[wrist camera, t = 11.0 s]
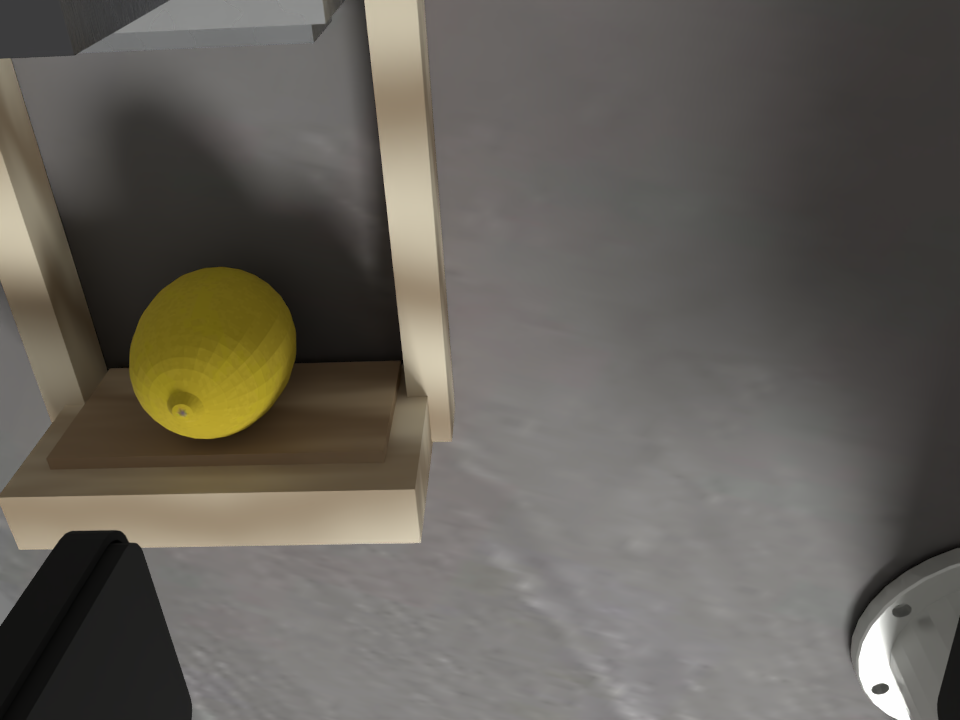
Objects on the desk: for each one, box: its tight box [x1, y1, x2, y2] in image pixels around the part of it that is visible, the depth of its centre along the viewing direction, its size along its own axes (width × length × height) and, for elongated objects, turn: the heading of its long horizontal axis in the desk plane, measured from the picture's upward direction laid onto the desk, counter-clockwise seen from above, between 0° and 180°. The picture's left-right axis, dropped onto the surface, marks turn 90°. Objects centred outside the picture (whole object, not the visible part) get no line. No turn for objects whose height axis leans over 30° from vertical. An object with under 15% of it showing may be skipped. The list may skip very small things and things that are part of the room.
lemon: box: [129, 267, 296, 439], centre depth 32 cm, size 6×6×8 cm
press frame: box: [0, 0, 455, 550], centre depth 29 cm, size 26×16×8 cm, turn 3°
